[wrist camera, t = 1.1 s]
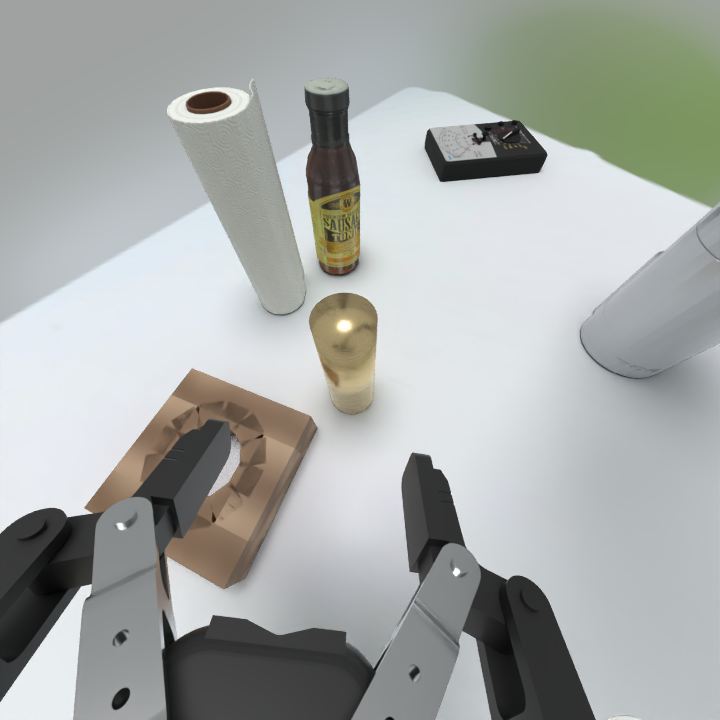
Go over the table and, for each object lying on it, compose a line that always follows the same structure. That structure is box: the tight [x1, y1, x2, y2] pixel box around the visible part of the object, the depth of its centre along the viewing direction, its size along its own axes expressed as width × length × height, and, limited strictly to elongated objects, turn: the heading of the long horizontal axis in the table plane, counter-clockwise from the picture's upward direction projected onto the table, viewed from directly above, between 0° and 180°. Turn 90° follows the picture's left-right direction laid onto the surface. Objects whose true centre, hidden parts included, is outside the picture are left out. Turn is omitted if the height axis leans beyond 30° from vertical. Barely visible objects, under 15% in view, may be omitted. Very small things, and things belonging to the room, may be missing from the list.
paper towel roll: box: [167, 79, 306, 315], centre depth 30 cm, size 7×6×21 cm
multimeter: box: [425, 120, 547, 182], centre depth 54 cm, size 13×19×5 cm
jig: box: [84, 369, 317, 589], centre depth 27 cm, size 14×14×4 cm
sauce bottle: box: [305, 78, 360, 274], centre depth 34 cm, size 7×6×20 cm
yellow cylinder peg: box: [309, 293, 378, 414], centre depth 26 cm, size 5×5×14 cm
